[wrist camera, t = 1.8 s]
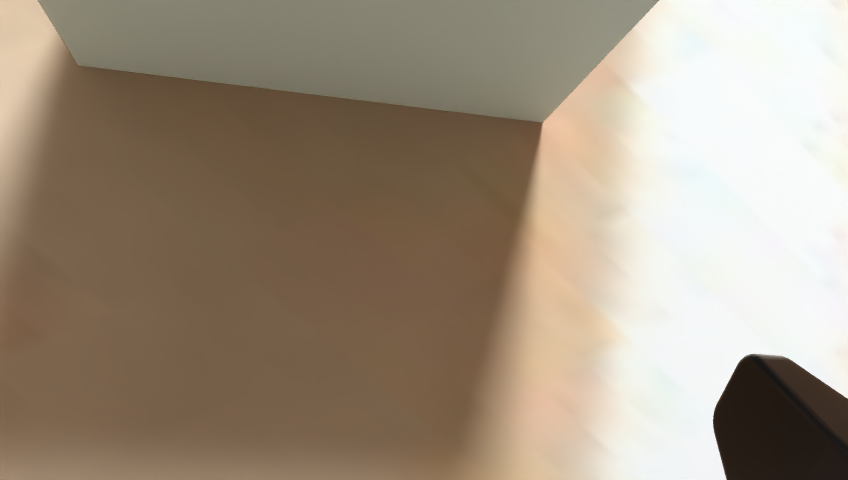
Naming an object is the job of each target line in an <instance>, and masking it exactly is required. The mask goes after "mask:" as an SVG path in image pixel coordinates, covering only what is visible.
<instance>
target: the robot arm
mask: <svg viewBox="0 0 848 480" xmlns="http://www.w3.org/2000/svg"><path fill="white" fill-rule="evenodd" d="M713 427H714V433H715V437H716V441H717V445H718V448H719V452H720V456H721V460H722V464H723V468H724V471H725V475H726V479H727V480H848V399H847V398H845V397H844V396H843V395H841V394H840V393H838V392H837V391H835V390H834V389H832V388H831V387H829V386H828V385H826V384H825V383H824V382H822V381H821V380H819V379H818V378H816V377H815V376H813V375H812V374H810V373H809V372H808V371H806V370H805V369H803V368H802V367H800V366H799V365H797V364H796V363H794V362H793V361H791V360H790V359H788V358H785V357H782V356H775V355H762V354H750V355H747V356H745V357H744V358H743V359H741V360H740V362H739V363H738V365H737V367H736V369H735V371H734V373H733V374H732V376H731V378H730V380H729V382H728V384H727V386H726V388H725V390H724V392H723V393H722V395H721V397H720V399H719V401H718V403H717V405H716V407H715V411H714V416H713Z"/></svg>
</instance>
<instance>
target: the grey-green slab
mask: <svg viewBox="0 0 848 480" xmlns="http://www.w3.org/2000/svg"><path fill="white" fill-rule="evenodd" d="M658 1H659V0H38V2H39V3H40V5H41V6H42V8H43V10H44V11H45V13H46V14H47V16H48V18H49V19H50V21H51V23H52V24H53V26H54V27H55V29H56V31H57V32H58V34H59V35H60V37H61V39H62V40H63V42H64V43H65V45H66V47H67V48H68V50H69V52H70V53H71V55H72V56H73V58H74V60H75V61H76V63H77V64H78V66H86V67H95V68H103V69H111V70H119V71H127V72H135V73H143V74H151V75H159V76H168V77H176V78H184V79H192V80H200V81H208V82H216V83H224V84H232V85H241V86H249V87H257V88H265V89H273V90H281V91H289V92H297V93H306V94H314V95H322V96H330V97H338V98H346V99H354V100H362V101H370V102H379V103H387V104H395V105H403V106H411V107H419V108H427V109H435V110H443V111H452V112H460V113H468V114H476V115H484V116H492V117H500V118H508V119H516V120H525V121H533V122H541V123H543V122H544V121H545V120H546V119H547V118H548V117H549V115H550V114H551V113H552V112H553V111H554V110H555V109H556V108H557V107H558V106H559V105H560V104H561V103H562V102H563V101H564V100H565V99H566V98H567V97H568V95H569V94H570V93H571V92H572V91H573V90H574V89H575V88H576V87H577V86H578V85H579V84H580V83H581V82H582V81H583V80H584V79H585V78H586V77H587V76H588V74H589V73H590V72H591V71H592V70H593V69H594V68H595V67H596V66H597V65H598V64H599V63H600V62H601V61H602V60H603V59H604V58H605V57H606V56H607V54H608V53H609V52H610V51H611V50H612V49H613V48H614V47H615V46H616V45H617V44H618V43H619V42H620V41H621V40H622V39H623V38H624V37H625V36H626V34H627V33H628V32H629V31H630V30H631V29H632V28H633V27H634V26H635V25H636V24H637V23H638V22H639V21H640V20H641V19H642V18H643V17H644V16H645V14H646V13H647V12H648V11H649V10H650V9H651V8H652V7H653V6H654V5H655V4H656V3H657V2H658Z"/></svg>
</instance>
